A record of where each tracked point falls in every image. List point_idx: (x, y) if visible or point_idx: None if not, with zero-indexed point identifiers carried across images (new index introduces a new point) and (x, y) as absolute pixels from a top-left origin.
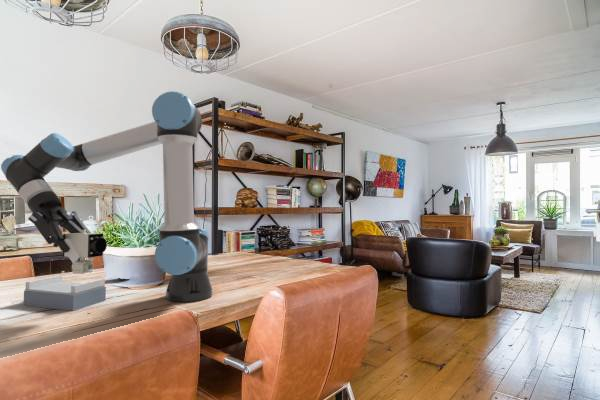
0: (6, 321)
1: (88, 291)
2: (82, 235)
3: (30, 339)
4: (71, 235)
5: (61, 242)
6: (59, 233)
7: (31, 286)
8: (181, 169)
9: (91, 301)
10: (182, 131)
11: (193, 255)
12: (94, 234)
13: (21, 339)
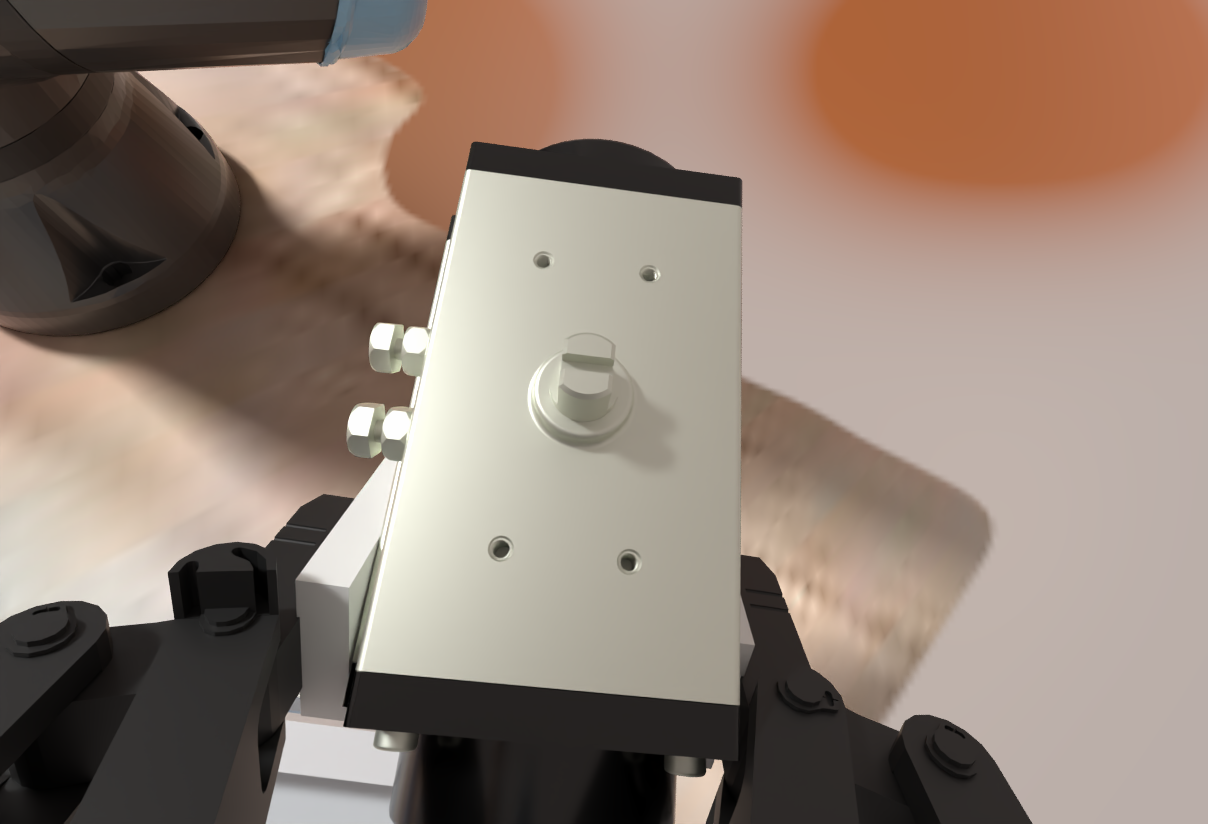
0: None
1: (294, 712)
2: (736, 313)
3: (876, 561)
4: (733, 535)
5: (804, 655)
6: (822, 797)
7: None
8: None
9: (297, 699)
10: None
11: None
12: (656, 170)
13: (888, 600)
